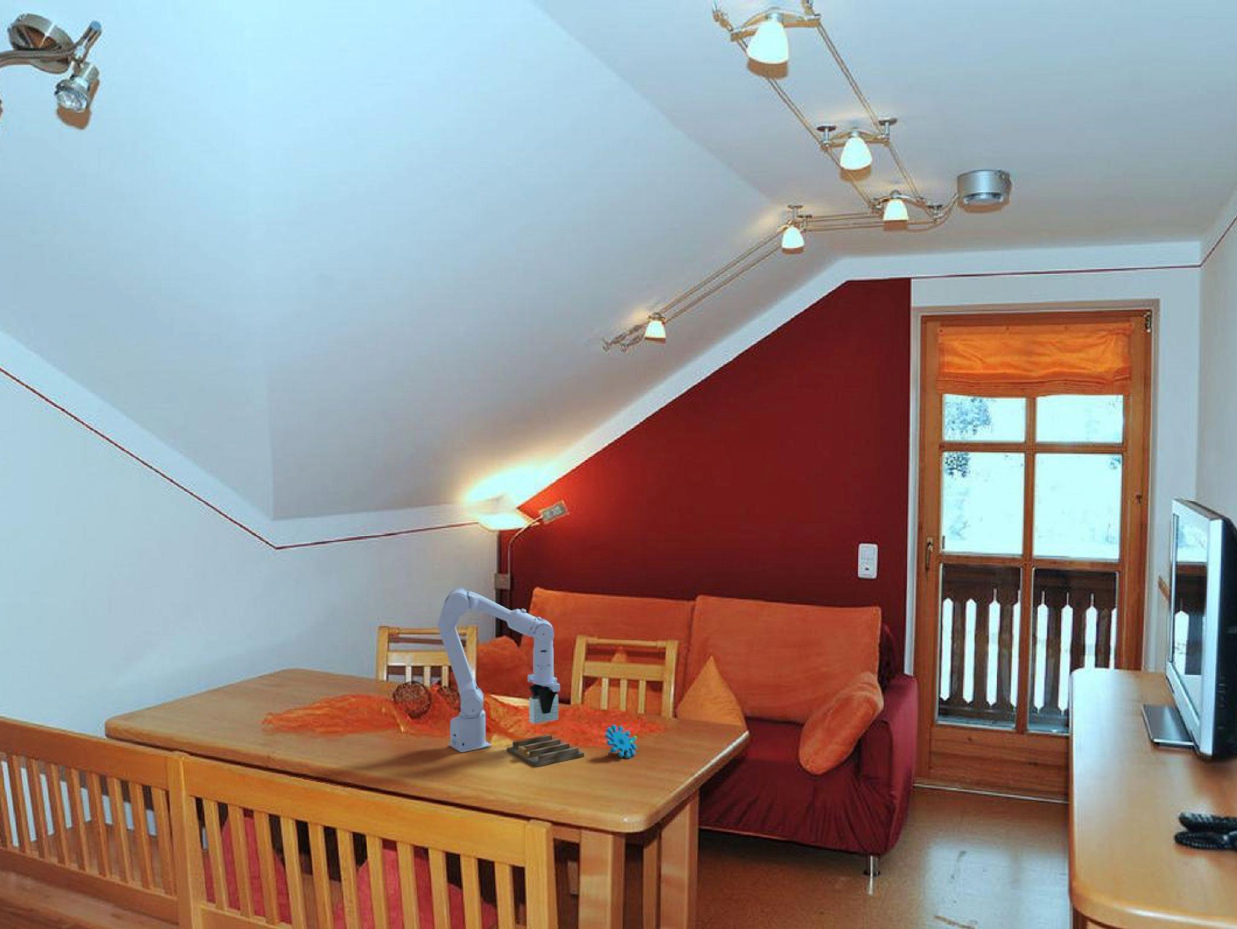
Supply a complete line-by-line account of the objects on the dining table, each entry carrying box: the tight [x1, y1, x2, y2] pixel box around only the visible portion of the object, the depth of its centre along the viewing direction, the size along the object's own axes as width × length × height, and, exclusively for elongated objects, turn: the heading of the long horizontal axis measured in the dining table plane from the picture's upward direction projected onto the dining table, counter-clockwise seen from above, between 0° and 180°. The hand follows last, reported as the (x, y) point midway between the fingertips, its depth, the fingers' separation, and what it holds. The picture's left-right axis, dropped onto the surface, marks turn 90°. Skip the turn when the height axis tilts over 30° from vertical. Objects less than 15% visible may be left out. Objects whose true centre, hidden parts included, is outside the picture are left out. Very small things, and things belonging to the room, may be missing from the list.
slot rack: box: [506, 733, 585, 768], centre depth 283 cm, size 15×16×3 cm
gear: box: [604, 724, 638, 759], centre depth 283 cm, size 11×6×10 cm
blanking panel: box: [528, 693, 559, 725], centre depth 292 cm, size 8×2×7 cm, turn 125°
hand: (543, 711), depth 292 cm, fingers closed on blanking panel, 2 cm apart
